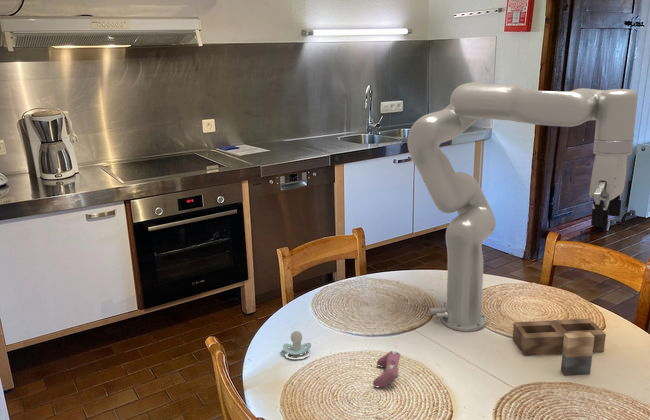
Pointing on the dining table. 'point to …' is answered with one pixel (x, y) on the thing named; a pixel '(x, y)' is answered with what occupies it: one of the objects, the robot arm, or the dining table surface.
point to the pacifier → (297, 345)
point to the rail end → (577, 354)
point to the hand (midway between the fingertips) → (605, 220)
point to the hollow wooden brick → (553, 335)
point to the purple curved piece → (388, 369)
